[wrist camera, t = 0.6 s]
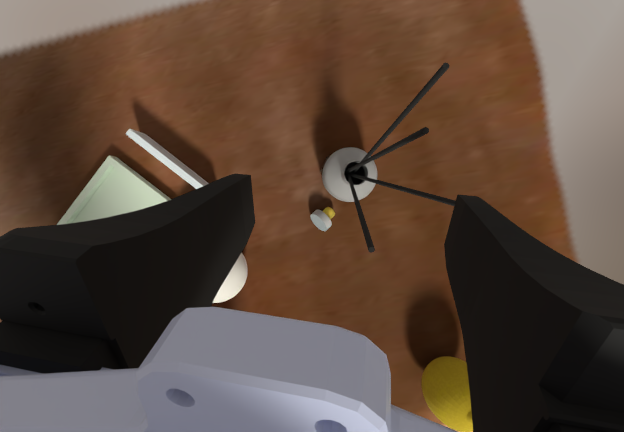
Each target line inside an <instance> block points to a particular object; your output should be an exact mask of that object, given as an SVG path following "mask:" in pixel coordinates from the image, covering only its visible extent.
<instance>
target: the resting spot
mask: <svg viewBox="0 0 624 432" xmlns="http://www.w3.org/2000/svg"><path fill="white" fill-rule="evenodd" d="M168 200H171V199H170V198H169V197H168V196H166V195H165V194H164V193H163V192H161V191H160V190H159V189H157V188H156V187H155V186H154V185H152V184H151V183H150V182H148V181H147V180H146V179H144V178H143V177H142V176H141V175H139V174H138V173H137V172H135V171H134V170H133V169H131V168H130V167H129V166H128V165H126V164H125V163H124V162H122V161H121V160H120V159H118V158H117V157H116V156H108V157H107V159H106V160H105V161H104V163H103V164H102V165H101V167H100V168H99V169H98V171H97V172H96V173H95V175H94V176H93V177H92V179H91V180H90V181H89V183H88V184H87V185H86V187H85V188H84V189H83V190H82V192H81V193H80V194H79V196H78V197H77V198H76V200H75V201H74V202H73V204H72V205H71V206H70V208H69V209H68V210H67V212H66V213H65V214H64V216H63V217H62V218H61V220H60V221H59V222H58V224H57V225H61V224H69V223H76V222H83V221H90V220H96V219H101V218H107V217H111V216H115V215H120V214H124V213H129V212H133V211H137V210H140V209H144V208H147V207H150V206H154V205H157V204H160V203H163V202H166V201H168Z"/></svg>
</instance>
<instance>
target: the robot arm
mask: <svg viewBox="0 0 624 432" xmlns="http://www.w3.org/2000/svg"><path fill="white" fill-rule="evenodd" d="M254 224H255V216H254V206H253V195H252V184H251V175H243V174H232V175H229V176H226V177H224V178H221V179H219V180H216V181H214V182H212V183H209V184H207V185H205V186H203V187H200V188H198V189H196V190H194V191H191V192H189V193H186V194H184V195H181V196H179V197H176V198H174V199H171V200H168V201H166V202H163V203H160V204H157V205H154V206H150V207H147V208H144V209H140V210H137V211H133V212H129V213H124V214H120V215H115V216H111V217H107V218H101V219H96V220H90V221H83V222H76V223H69V224H61V225H50V226H39V227H28V228H16V229H13V230H11V231H9V232H8V233H6V234H4V235H3V236H1V237H0V319H1V320H3V321H2V322H1V323H0V432H457V431H455V430H452V429H450V428H448V427H445V426H443V425H440V424H438V423H435V422H433V421H430V420H428V419H426V418H423V417H421V416H418V415H416V414H413V413H411V412H408V411H406V410H403V409H401V408H399V407H396V406H394V405H391V374H390V369H389V364H388V360H387V355H386V354H385V353H384V352H382V351H381V350H380V349H379V348H378V347H377V346H376V345H375V344H374V343H372V342H371V341H370V340H369V339H368V338H367V337H365V336H364V335H361V334H358V333H356V332H353V331H350V330H347V329H344V328H341V327H338V326H333V325H327V324H320V323H314V322H308V321H302V320H295V319H289V318H283V317H276V316H270V315H264V314H257V313H251V312H245V311H239V310H232V309H226V308H220V307H211V305H212V303H213V301H214V298H215V297H216V295H217V293H218V291H219V289H220V287H221V286H222V284H223V282H224V281H225V279H226V277H227V276H228V274H229V272H230V271H231V269H232V267H233V266H234V264H235V263H236V261H237V259H238V258H239V256H240V254H241V252H242V251H243V249H244V247H245V246H246V244H247V242H248V239H249V237H250V235H251V232H252V229H253V227H254ZM444 246H445V258H446V268H447V272H448V277H449V281H450V285H451V289H452V293H453V296H454V300H455V304H456V308H457V312H458V316H459V320H460V324H461V329H462V334H463V340H464V347H465V355H466V363H467V371H468V381H469V390H470V400H471V412H472V423H473V432H624V285H623V284H620V283H618V282H616V281H614V280H611V279H609V278H607V277H605V276H603V275H600V274H598V273H596V272H594V271H592V270H590V269H588V268H586V267H584V266H582V265H580V264H578V263H576V262H574V261H572V260H570V259H569V258H567V257H565V256H563V255H562V254H560V253H558V252H556V251H554V250H553V249H551V248H549V247H548V246H546V245H545V244H543V243H541V242H540V241H538V240H537V239H535V238H534V237H532V236H531V235H529V234H528V233H526V232H525V231H524V230H522V229H521V228H519V227H518V226H517V225H515V224H514V223H513V222H511V221H510V220H509V219H507V218H506V217H505V216H503V215H502V214H501V213H499V212H498V211H497V210H496V209H494V208H493V207H492V206H490V205H489V204H488V203H486V202H485V201H484V200H482V199H481V198H479V197H477V196H467V195H457V199H456V203H455V206H454V210H453V214H452V218H451V221H450V225H449V229H448V233H447V237H446V240H445V244H444Z"/></svg>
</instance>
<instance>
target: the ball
mask: <svg viewBox="0 0 624 432" xmlns="http://www.w3.org/2000/svg"><path fill="white" fill-rule="evenodd" d="M247 272H248V269H247V263H246V260H245V257H244V255H243V254H242V252H241V254H240V256H239V258H238V259H237V261H236V263H235V264H234V266H233V267H232V269H231V271H230V272H229V274H228V276H227V277H226V279H225V281H224V282H223V284H222V286H221V287H220V289H219V291H218V293H217V295H216V297H215V298H214V301H213V303H220V302H224V301H227V300H229V299H231V298H233V297H234V296H235V295H237V294H238V293H239V291H240V290H241V289H242V288H243V286H244V284H245V281H246V279H247Z"/></svg>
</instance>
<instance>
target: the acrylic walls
mask: <svg viewBox="0 0 624 432" xmlns="http://www.w3.org/2000/svg"><path fill="white" fill-rule="evenodd" d="M126 135H128V136H129V137H130V138H131V139H133V140H134V141H135V142H137V143H138V144H139V145H140V146H142V147H143V148H144V149H146V150H147V151H148V152H149V153H151V154H152V155H153V156H155V157H156V158H157V159H158V160H160V161H161V162H162V163H164V164H165V165H166V166H167V167H169V168H170V169H171V170H172V171H174V172H175V173H176V174H178V175H179V176H180V177H181V178H183V179H184V180H185V181H187V182H188V183H189V184H190V185H192V186H193V187H194V188H196V189H198V188H200V187H203V186H205V185H207V184H209V183H208V182H206V181H205V180H204V179H203V178H201V177H200V176H199V175H197V174H196V173H195V172H194V171H192V170H191V169H190V168H189V167H187V166H186V165H185V164H183V163H182V162H181V161H180V160H178V159H177V158H176V157H174V156H173V155H172V154H171V153H169V152H168V151H167V150H166V149H164V148H163V147H162V146H160V145H159V144H158V143H157V142H155V141H154V140H153V139H151V138H150V137H149V136H148V135H146V134H145V133H142V132H139V131H136V130H133V129H129V130H128V131H127V133H126Z"/></svg>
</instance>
